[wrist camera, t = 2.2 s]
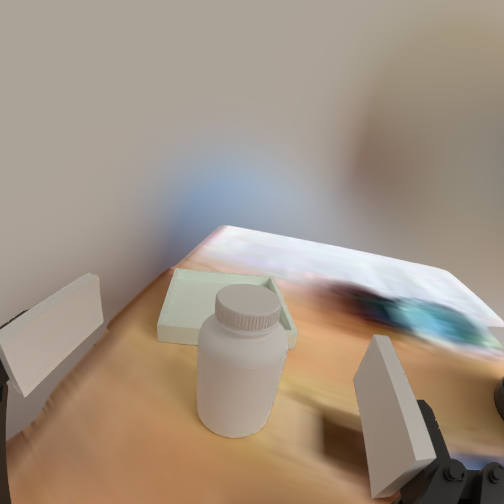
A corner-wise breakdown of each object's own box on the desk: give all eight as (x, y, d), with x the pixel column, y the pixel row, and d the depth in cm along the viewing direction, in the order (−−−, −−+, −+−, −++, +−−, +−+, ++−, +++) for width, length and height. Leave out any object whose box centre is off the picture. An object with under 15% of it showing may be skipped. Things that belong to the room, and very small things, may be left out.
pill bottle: (190, 391, 29) (193, 276, 24) (254, 384, 32) (276, 275, 27) (204, 445, 22) (211, 329, 17) (279, 432, 25) (318, 319, 20)
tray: (271, 289, 58) (273, 276, 57) (294, 349, 40) (298, 333, 39) (175, 281, 55) (175, 267, 54) (157, 341, 36) (156, 324, 36)
